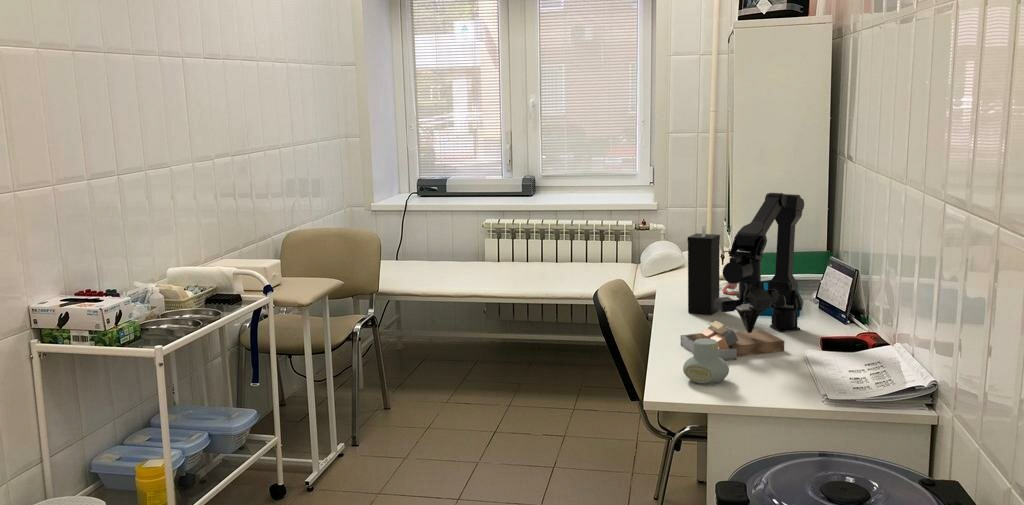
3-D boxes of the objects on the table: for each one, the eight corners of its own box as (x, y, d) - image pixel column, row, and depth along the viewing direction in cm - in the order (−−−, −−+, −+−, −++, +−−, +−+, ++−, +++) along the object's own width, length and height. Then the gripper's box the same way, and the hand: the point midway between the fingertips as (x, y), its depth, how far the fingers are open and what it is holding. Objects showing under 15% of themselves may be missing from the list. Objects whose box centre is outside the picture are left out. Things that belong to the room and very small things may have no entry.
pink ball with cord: (753, 268, 303) (739, 279, 281) (762, 291, 303) (750, 304, 280) (699, 287, 312) (682, 300, 290) (709, 309, 312) (692, 324, 290)
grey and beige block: (721, 331, 237) (714, 316, 236) (738, 340, 227) (731, 325, 226) (712, 336, 237) (705, 322, 235) (729, 346, 227) (721, 331, 226)
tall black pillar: (719, 310, 276) (720, 224, 271) (711, 315, 270) (711, 228, 265) (696, 307, 280) (696, 223, 275) (687, 313, 274) (687, 226, 269)
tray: (707, 342, 241) (707, 332, 240) (736, 359, 224) (736, 348, 224) (680, 345, 239) (680, 335, 238) (707, 363, 222) (707, 352, 222)
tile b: (717, 333, 230) (710, 338, 230) (724, 337, 226) (716, 342, 226) (723, 346, 231) (715, 350, 231) (730, 350, 227) (722, 354, 227)
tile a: (708, 328, 236) (700, 332, 236) (714, 331, 232) (706, 336, 232) (713, 340, 237) (705, 344, 237) (719, 344, 233) (711, 348, 233)
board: (761, 339, 241) (761, 329, 241) (784, 351, 230) (784, 340, 229) (712, 344, 238) (712, 334, 238) (733, 357, 227) (733, 346, 226)
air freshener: (677, 381, 209) (677, 342, 207) (692, 372, 216) (692, 334, 214) (719, 389, 203) (720, 348, 201) (733, 379, 209) (734, 340, 207)
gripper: (732, 285, 221) (731, 343, 224) (797, 279, 225) (796, 336, 228) (712, 277, 232) (712, 333, 234) (775, 271, 236) (774, 326, 238)
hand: (749, 332), depth 233 cm, fingers closed
